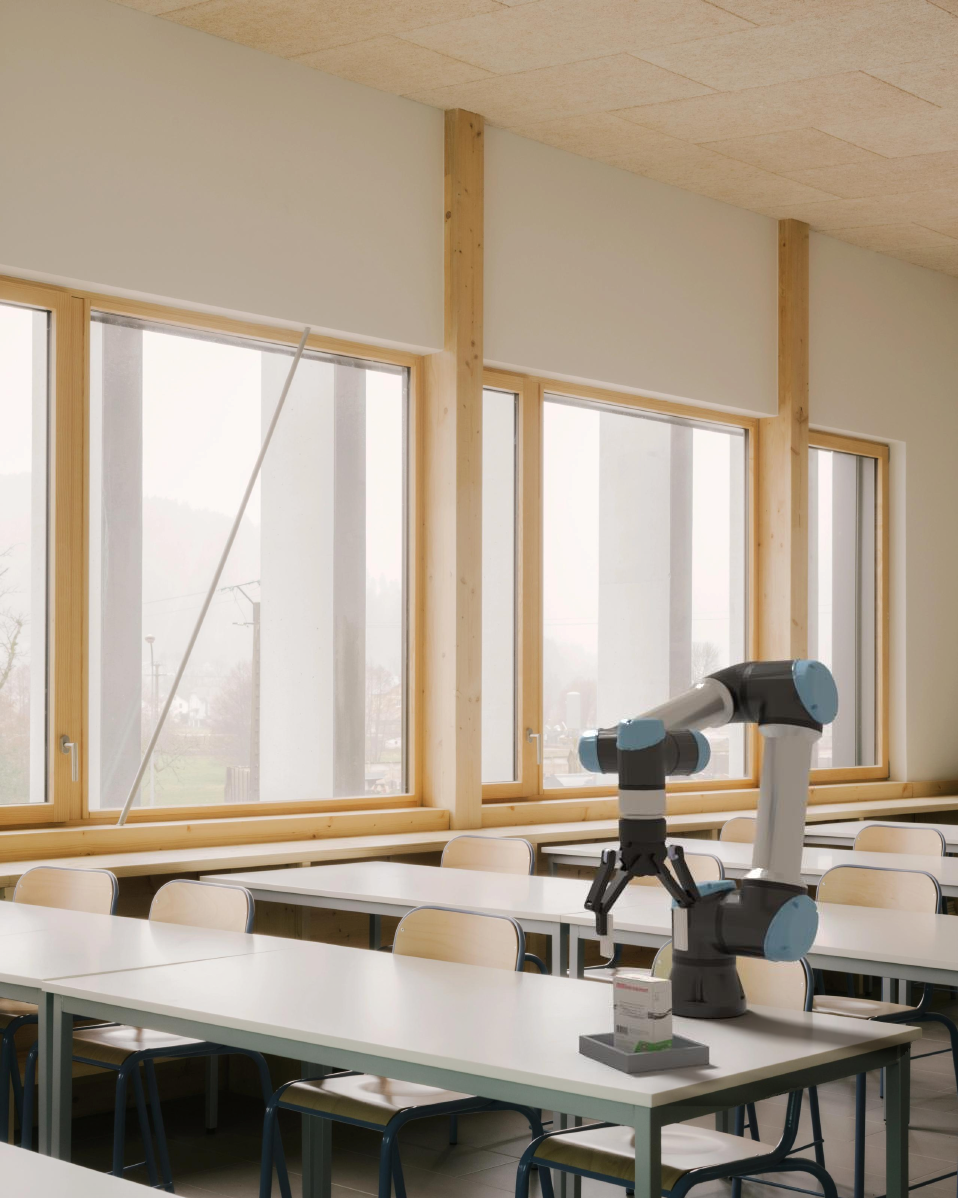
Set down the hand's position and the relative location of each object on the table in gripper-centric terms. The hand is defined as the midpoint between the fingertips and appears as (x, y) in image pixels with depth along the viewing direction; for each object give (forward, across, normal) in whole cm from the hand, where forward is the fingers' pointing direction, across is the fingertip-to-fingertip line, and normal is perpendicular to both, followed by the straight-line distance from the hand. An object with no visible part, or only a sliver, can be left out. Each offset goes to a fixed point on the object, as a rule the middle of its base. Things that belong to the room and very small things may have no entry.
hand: (644, 953), depth 221 cm
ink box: (+16, +1, 0) cm, 16 cm away
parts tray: (+16, +1, 0) cm, 16 cm away
